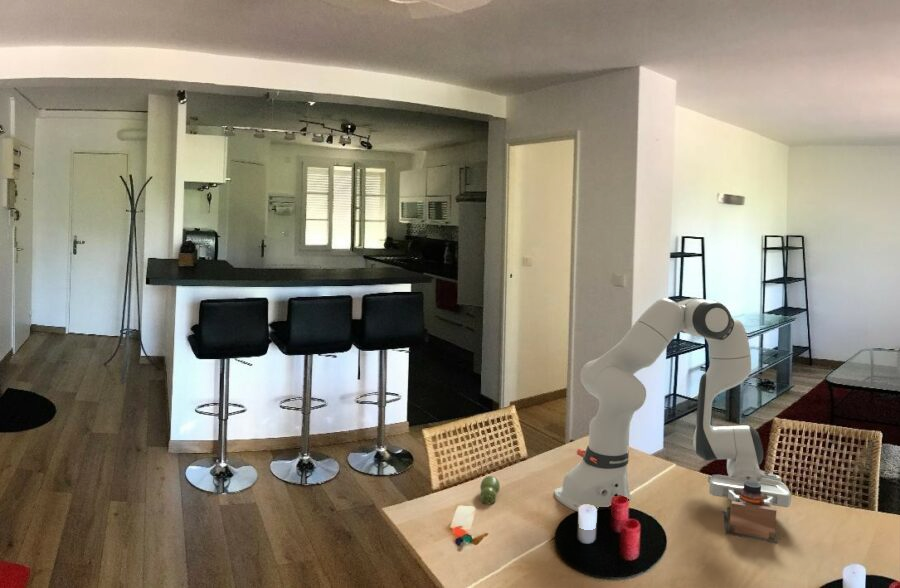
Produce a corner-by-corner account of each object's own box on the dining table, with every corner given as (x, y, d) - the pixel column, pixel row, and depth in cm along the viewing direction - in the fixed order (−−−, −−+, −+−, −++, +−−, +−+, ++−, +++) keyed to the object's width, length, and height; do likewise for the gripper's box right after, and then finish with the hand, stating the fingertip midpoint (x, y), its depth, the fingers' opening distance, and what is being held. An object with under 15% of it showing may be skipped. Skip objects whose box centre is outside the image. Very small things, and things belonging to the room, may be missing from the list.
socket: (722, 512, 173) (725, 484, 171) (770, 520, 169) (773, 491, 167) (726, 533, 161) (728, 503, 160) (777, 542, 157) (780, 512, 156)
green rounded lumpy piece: (501, 473, 183) (496, 494, 173) (500, 489, 184) (496, 510, 175) (482, 471, 184) (477, 491, 174) (482, 486, 185) (476, 507, 176)
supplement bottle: (756, 518, 167) (760, 479, 165) (765, 530, 161) (769, 489, 160) (733, 517, 168) (737, 478, 166) (741, 528, 162) (745, 488, 160)
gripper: (707, 465, 179) (710, 485, 166) (786, 477, 172) (795, 499, 159) (706, 485, 180) (708, 507, 167) (784, 498, 173) (793, 521, 160)
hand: (751, 503), depth 163 cm, fingers closed on supplement bottle, 6 cm apart
